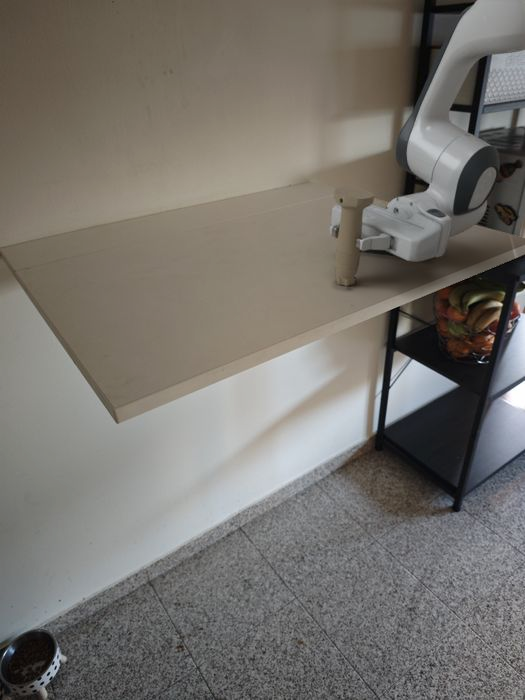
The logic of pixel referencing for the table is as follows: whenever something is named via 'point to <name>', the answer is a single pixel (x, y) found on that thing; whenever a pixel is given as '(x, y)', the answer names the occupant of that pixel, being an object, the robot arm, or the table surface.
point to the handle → (350, 231)
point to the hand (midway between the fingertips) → (345, 238)
